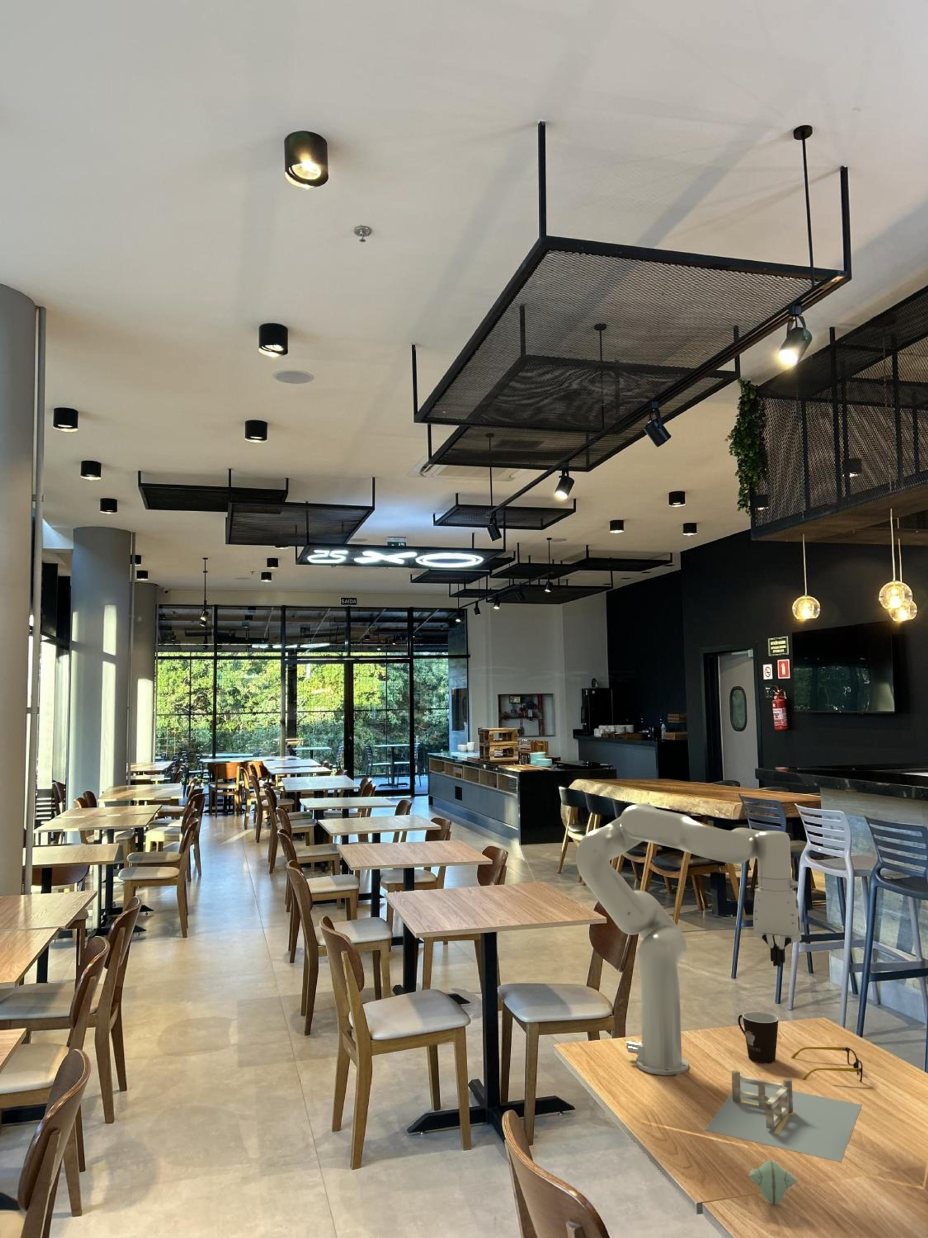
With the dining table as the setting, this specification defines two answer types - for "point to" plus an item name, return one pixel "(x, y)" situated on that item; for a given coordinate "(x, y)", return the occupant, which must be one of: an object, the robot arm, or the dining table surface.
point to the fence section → (761, 1089)
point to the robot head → (772, 1181)
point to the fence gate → (777, 1107)
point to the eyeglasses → (855, 1069)
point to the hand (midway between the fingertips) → (778, 965)
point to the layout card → (791, 1123)
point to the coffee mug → (760, 1036)
